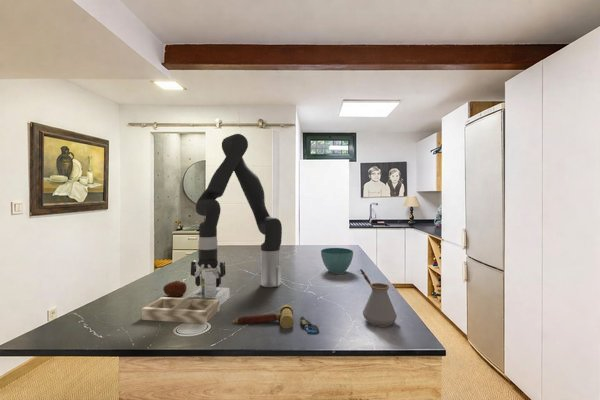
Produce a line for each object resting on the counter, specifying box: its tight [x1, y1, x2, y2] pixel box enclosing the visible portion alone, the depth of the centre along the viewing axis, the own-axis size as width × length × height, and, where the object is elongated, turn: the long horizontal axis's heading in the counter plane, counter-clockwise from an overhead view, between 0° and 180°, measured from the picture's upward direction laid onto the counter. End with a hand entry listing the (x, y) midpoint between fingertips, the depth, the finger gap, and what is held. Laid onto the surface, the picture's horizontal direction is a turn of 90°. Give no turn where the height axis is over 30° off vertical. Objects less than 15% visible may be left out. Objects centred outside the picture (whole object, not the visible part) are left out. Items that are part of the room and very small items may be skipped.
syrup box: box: [200, 268, 217, 296], centre depth 125 cm, size 6×6×14 cm
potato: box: [163, 280, 188, 297], centre depth 132 cm, size 7×9×6 cm
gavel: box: [232, 304, 295, 329], centre depth 105 cm, size 21×5×10 cm
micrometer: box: [299, 316, 320, 335], centre depth 102 cm, size 12×2×5 cm
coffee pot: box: [357, 268, 398, 328], centre depth 109 cm, size 21×12×15 cm, turn 14°
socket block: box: [185, 286, 231, 307], centre depth 125 cm, size 13×13×4 cm
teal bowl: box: [320, 247, 354, 275], centre depth 171 cm, size 18×18×12 cm
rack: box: [140, 296, 220, 325], centre depth 111 cm, size 24×12×4 cm, turn 82°
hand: (208, 286), depth 125 cm, fingers open, 8 cm apart
